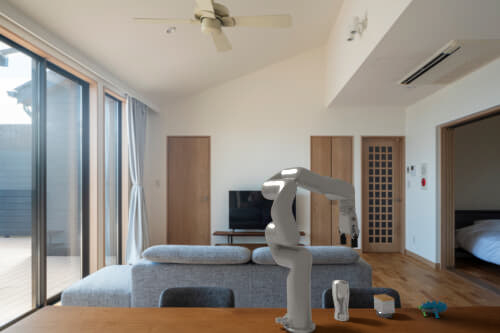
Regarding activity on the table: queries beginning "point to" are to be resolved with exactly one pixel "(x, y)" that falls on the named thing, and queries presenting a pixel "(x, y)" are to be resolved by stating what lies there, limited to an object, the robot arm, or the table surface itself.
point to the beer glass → (341, 299)
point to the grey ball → (384, 314)
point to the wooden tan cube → (384, 304)
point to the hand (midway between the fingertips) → (348, 246)
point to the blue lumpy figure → (433, 307)
